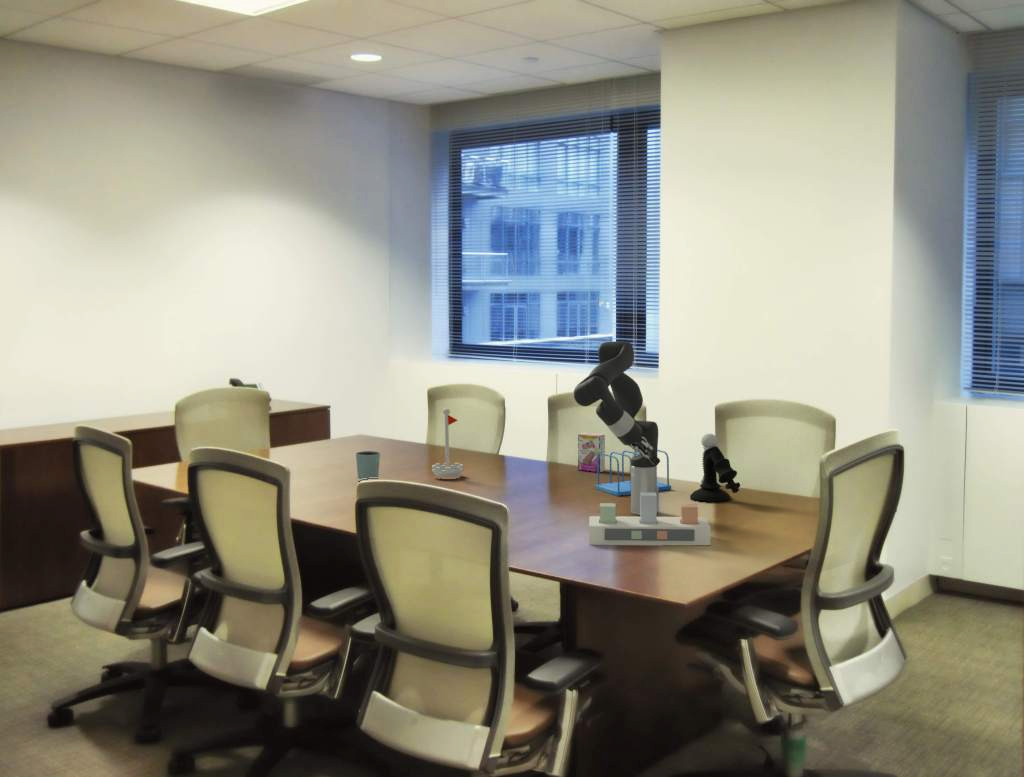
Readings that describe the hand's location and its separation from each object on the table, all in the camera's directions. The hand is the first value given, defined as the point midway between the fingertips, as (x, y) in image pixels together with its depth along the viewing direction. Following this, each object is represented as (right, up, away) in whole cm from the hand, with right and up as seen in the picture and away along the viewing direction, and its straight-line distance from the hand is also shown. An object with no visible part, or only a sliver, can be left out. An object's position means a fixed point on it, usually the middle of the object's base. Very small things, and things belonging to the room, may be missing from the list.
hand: (657, 462), depth 326 cm
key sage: (-15, -24, +10) cm, 30 cm away
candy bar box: (-11, -13, +130) cm, 132 cm away
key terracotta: (+11, -24, +7) cm, 28 cm away
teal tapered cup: (-106, -16, +114) cm, 157 cm away
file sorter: (+3, -17, +89) cm, 91 cm away
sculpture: (+32, -19, +66) cm, 76 cm away
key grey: (-2, -20, +8) cm, 22 cm away
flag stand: (-73, -15, +120) cm, 141 cm away
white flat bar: (-2, -25, +9) cm, 27 cm away
